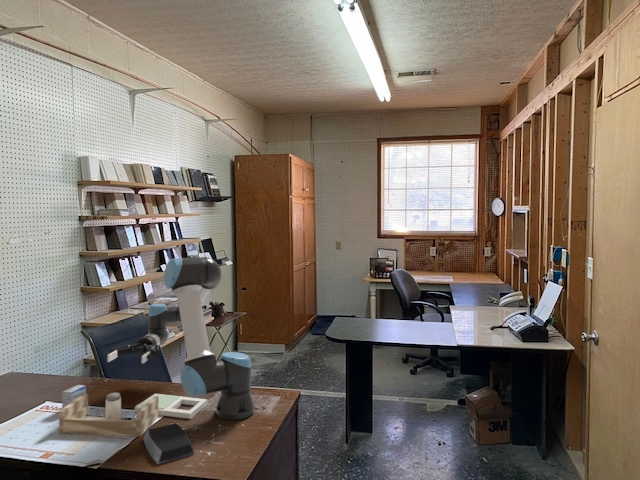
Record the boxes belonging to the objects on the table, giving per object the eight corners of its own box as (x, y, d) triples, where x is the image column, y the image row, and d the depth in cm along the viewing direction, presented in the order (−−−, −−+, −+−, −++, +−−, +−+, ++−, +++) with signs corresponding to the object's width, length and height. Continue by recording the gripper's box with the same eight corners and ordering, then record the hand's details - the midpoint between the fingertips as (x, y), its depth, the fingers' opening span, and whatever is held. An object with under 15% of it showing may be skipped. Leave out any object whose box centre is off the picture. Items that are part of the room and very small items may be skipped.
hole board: (207, 404, 182) (207, 398, 182) (190, 418, 168) (190, 412, 168) (155, 398, 187) (155, 392, 187) (134, 412, 173) (134, 406, 173)
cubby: (84, 414, 170) (84, 393, 170) (158, 416, 169) (158, 396, 169) (59, 433, 155) (59, 411, 154) (140, 436, 154) (140, 413, 153)
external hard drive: (155, 466, 136) (155, 453, 136) (141, 440, 152) (141, 428, 152) (196, 455, 143) (196, 442, 143) (179, 431, 159) (179, 419, 159)
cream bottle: (124, 420, 166) (124, 393, 165) (114, 426, 161) (114, 398, 160) (111, 418, 167) (111, 391, 166) (102, 425, 162) (102, 396, 161)
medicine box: (71, 414, 170) (71, 392, 169) (61, 413, 171) (61, 391, 170) (86, 406, 177) (86, 385, 177) (76, 405, 178) (76, 384, 178)
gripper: (176, 353, 194) (156, 370, 173) (120, 351, 195) (94, 367, 174) (176, 336, 194) (156, 351, 172) (120, 334, 194) (94, 348, 173)
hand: (125, 359), depth 173 cm, fingers open, 13 cm apart
